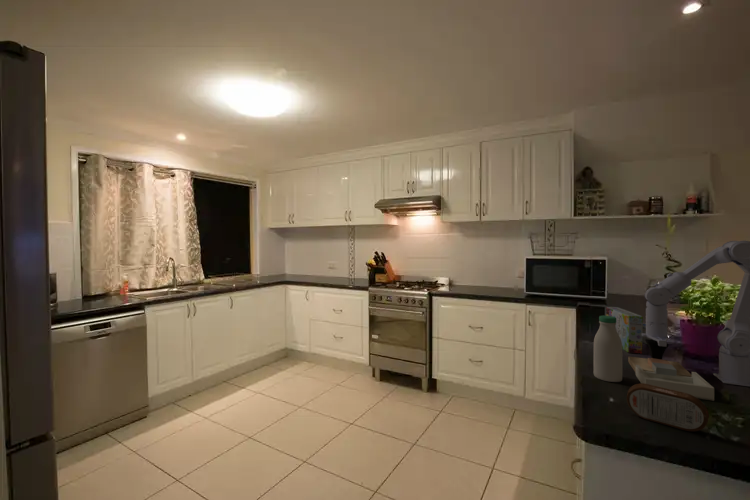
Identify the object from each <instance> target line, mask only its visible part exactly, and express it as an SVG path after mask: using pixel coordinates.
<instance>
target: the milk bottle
mask: <svg viewBox="0 0 750 500" xmlns="http://www.w3.org/2000/svg"><path fill="white" fill-rule="evenodd" d="M598 320H599V321H598V323H599V328H598V330H597V331H596V333H595V336H594V339H593V376H594V377H595V378H596V379H598V380H601V381H605V382H609V383H611V382H612V383H620V382H622V381H623V349H622V342H621V339H620V337H619V335H618V333H617V330H616V326H615V325H616V317H613V316H606V315H599V317H598Z"/></svg>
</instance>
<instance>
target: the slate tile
mask: <svg viewBox="0 0 750 500" xmlns="http://www.w3.org/2000/svg"><path fill="white" fill-rule="evenodd" d="M652 369H653V370H654V371H655V373H656V374H664V375H671V376H677V370H676V369H675V368H674V367H673V366H672V365H670V364H662V363H654V362H652Z"/></svg>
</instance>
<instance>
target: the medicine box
mask: <svg viewBox="0 0 750 500" xmlns="http://www.w3.org/2000/svg"><path fill="white" fill-rule="evenodd" d="M643 333H646V322H645V323H644V322H643ZM645 339H649V340H651V339H650V338H648V337H644V336H642V344H644V345H647V343H646V341H645Z"/></svg>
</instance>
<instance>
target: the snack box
mask: <svg viewBox="0 0 750 500" xmlns="http://www.w3.org/2000/svg"><path fill="white" fill-rule="evenodd" d="M605 316H613V317H616V325H615V326H616V330H617V333H618V335H619V337H620V339H621V342H622V351H625V352H626V353H628V354H639V353H640V354H639V355H642V354H643V343H642V333H643V324H644V316H642V315H640V314H638V313H635V312H632V311H630V310H628V309H624V308H621V307H618V306H606V307H605Z"/></svg>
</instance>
